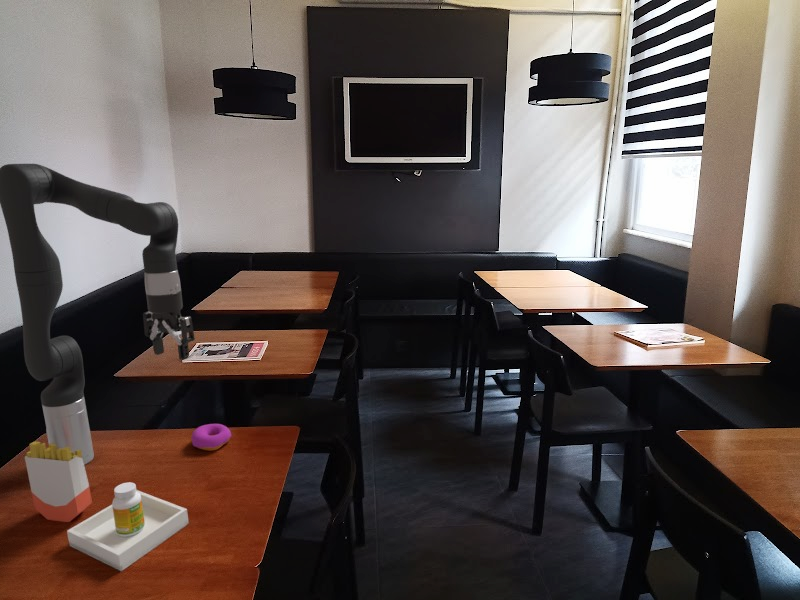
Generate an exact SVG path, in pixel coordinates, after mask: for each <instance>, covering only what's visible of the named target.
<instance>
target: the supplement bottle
mask: <svg viewBox="0 0 800 600" xmlns="http://www.w3.org/2000/svg"><path fill="white" fill-rule="evenodd" d="M136 485H137V484H135V483H134V482H130V481H129V482H123V483H121V484H118V485H117V486H115V487H114V489H113V490H114V491H113V493H114V498H113V499H112V503H111V505H112V507H113V513H114V520H115V527H116V533H117V534H118V535H119V536H122V537H128V536H132V535H135V534H137V533H139V532H140V531H141V530H142V529H143V528H144V526H145V522H144V514H143V507H142V499H141V495H140V493H138V492H136V490H137V486H136Z"/></svg>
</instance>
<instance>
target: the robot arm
mask: <svg viewBox="0 0 800 600" xmlns="http://www.w3.org/2000/svg"><path fill="white" fill-rule="evenodd" d="M45 203H53V204H61V205H62V204H63V205H67V206H70V207H73V208H76V209H77V210H78V211H80V212H81V213H83V214H84V215H87V216H89V217H91V218H93V219H96V220H100V221H102V222H103V221H104V222H107V223H110V224H115V225H119V226H121V227H122V228H124V229H126V230H128V231H130V232H132V233H135V234H137V235H141V236H147V237H150V239H149V243H148V244H147V246H145V247H144V248H143V250H142V263H143V271H144V287H145V288H144V289H145V295H146V302H147V310H148V311H146V312H143V313H142V320H143V321H142V322H143V330H144V336H145V337H149V339H150V340H151V341H152V348H153V352H154V353H153V354H154V355H156V356H159V355H162V354H164V353H165V347H164V341H163V340H164V339H163V335H164V333H166V334H169V335H170V337H171V338H172V339H174V341H176V343H177V344H178V345H177V351H178V358H179V360H180V361H185V360H188V358H189V357H190V349H189V348H190V347H189V343H192V342H194V341H195V340H196V338H195V333H194V326H193V325H194V324H193V321H192V317H191V316H190V315H188V316H182V314H181V310H183V307H184V305H183V303H184V302H183V295H182V288H181V287H182V286H181V279H180V274H179V270H178V264H177V263H178V262H177V256H176V255H177V254H176V248H177V244H178V234H179V219H178V218H179V217H178V215H177V212H176V211H175V208H173V206H172V205H171V204H169V203H167V202H163V201H159V202H148V203H143V202H138V201H135V199H134V198H133V197H131V196H130V195H127V194H124V193H121V192H117V191H113V190H109V189H105V188H102V187H98V186H95V185H91V184H87V183H85V182H82V181H79V180H76V179H73V178H71V177H68V176H66V175H64V174H62V173H60V172H58V171H56V170H54V169H52V168H49V167H47V166H45V165H42V164H39V163H7V164H5V165H2V166H1V167H0V209H1V211H2V215H3V218H4V222H5V225H6V229H7V234H8V239H9V243H10V248H11V254H12V255H11V256H12V262H13V268H14V269H13V270H14V276H15V283H16V287H17V292H18V296H19V297H18V299H19V304H20V311H21V318H22V320H21V321H22V332H23V333H22V334H23V335H22V337H23V339H22V340H23V354H24V355H23V356H24V362H25V366H26V368H27V370H28V373H29V374H30V376H31V377H32V378H33V379H35V380H36V381H39V382H44V381H48V380H51V382H50V383H49V384H48V385H47V386H46V387H45V388H44V389H43V390H42V391H41V394H40V401H41V406H42V411H43V412H42V413H43V416H44V421H45V427H46V429H45V431H46V437H47V442H48V445H49V444H51V443H53V444H56V445H57V450H58V449H60V448H64V447H70V448H71V451H72V452H73V453H74V455H75V451H76V450H81V453H82V459H83V463H84V466H85V465H86V464H88V463H90V462H91V461H92V460H93V459H94V458H95V454H94V448H93V447H94V446H93V441H92V435H91V428H90V424H89V418H88V411H87V405H86V399H85V394H84V388H85V386H86V385H85V384H86V380H85V371H84V361H83V354H82V350H81V348H80V345H79V344H78V342H77V341H76V339H74V338H73V337H71V336H69V335H59V336H56V337H53V338H51V321H52V318H53V315H54V313H55V311H56V310H55V309H56V308H57V306H58V303H59V301H60V298H61V295H62V293H63V287H64V284H63V274H62V268H61V262H60V259H59V257H58V255H57V253H56V251H55V250H54V249H53V247H52V246H51V245H50V243H49V242H48V241H47V240H46V238H45V237H44V235H43V234H42V232H41V230H40V228H39V226H38V222H37V218H36V214H35V213H36V212H35V205H41V204H45ZM150 328H151V329H150ZM178 330H179V331H178ZM180 336H181V337H180Z"/></svg>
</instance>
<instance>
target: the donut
mask: <svg viewBox="0 0 800 600" xmlns="http://www.w3.org/2000/svg"><path fill="white" fill-rule="evenodd" d="M230 438H232V432H231V430H230V429H229V428H228V427H227V426H226V425H223V424H221V423H209V424H204V425H200V426H198V427H197V428H196V429H194V431H193V432H192V433H191V442H192V444H191V445H192V446H193V447H195V448H198V449H199V450H203V451H210V452H213V451H216V450H219V449H220V448H221V447H223V445H225V444H227V443H228V442H229V441H230Z"/></svg>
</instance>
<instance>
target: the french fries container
mask: <svg viewBox="0 0 800 600" xmlns="http://www.w3.org/2000/svg"><path fill="white" fill-rule="evenodd" d="M46 446H47V447H46ZM24 461H25V465H26V471H27V476H28V481H29V486H30V490H31V496H32V501H33V505H34V506H33V507H34V509H35V510H36V511H37V512H38V513H39V514H41V515H42V516H43V517H44V519H46V520H48V521H54V522H64V523H70V522H71V521H72V520H74V519H75V518H76V517H78V516H79V515H80V514H81V513H83V512H84V510H86V509H87V508H88V507H89V506H90V505H91V504H92V503H93V501H92V500H93V499H92V494H91V493H92V492H91V488H90V483H89V480H88V475H87V472H86V467H85V465H84V463H83V459H82V453H81V450H76V451H75V455H74V453H73V452H72V451H71V448H70V447H64V448H60V449H58V450H57V445H56V444H53V443H51V444H49V443H48V445H46V442H40V441H36V440H35V441H33V442H30V443H29V451H27V452H26V455H25V456H24Z"/></svg>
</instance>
